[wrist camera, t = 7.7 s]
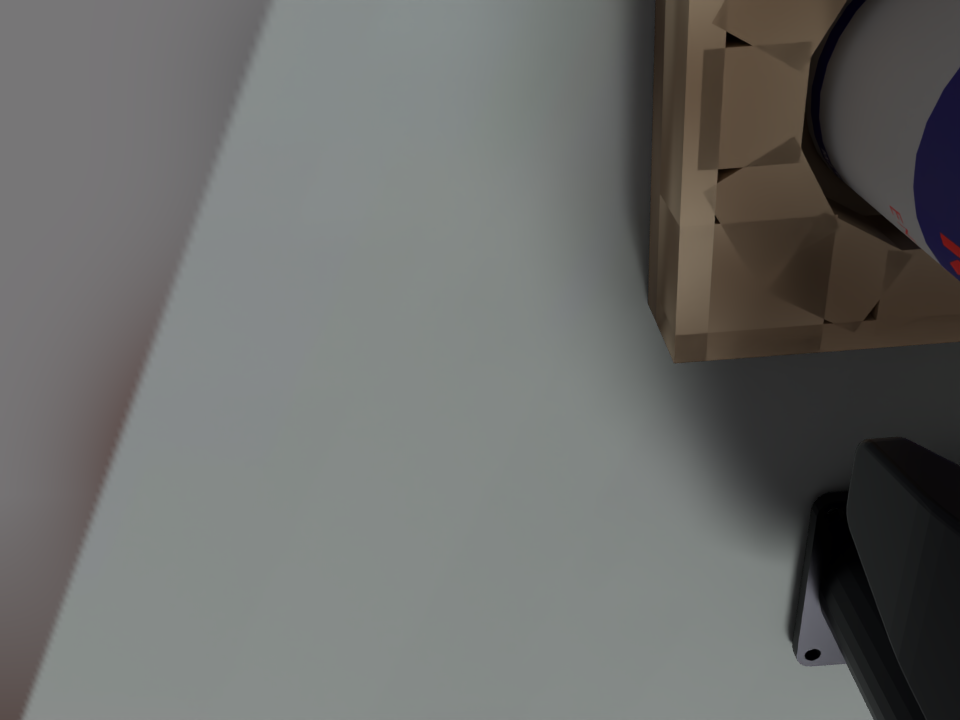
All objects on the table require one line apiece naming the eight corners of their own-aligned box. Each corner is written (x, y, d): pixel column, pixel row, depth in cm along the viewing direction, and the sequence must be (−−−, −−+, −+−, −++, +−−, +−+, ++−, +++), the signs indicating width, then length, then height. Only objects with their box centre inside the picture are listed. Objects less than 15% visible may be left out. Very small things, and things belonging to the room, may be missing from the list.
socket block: (1091, 269, 23) (1175, 325, 20) (648, 303, 23) (674, 363, 20) (1244, -266, 17) (1386, -285, 15) (660, -219, 17) (699, -230, 15)
